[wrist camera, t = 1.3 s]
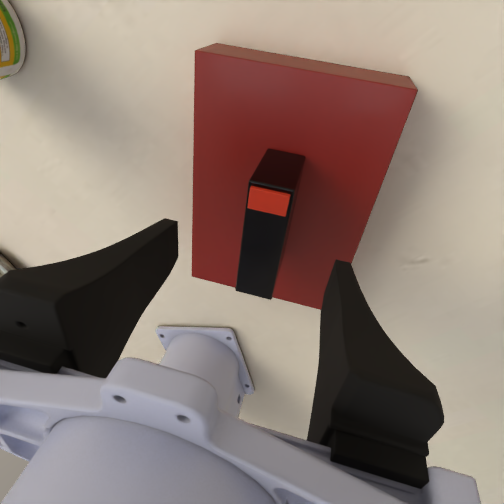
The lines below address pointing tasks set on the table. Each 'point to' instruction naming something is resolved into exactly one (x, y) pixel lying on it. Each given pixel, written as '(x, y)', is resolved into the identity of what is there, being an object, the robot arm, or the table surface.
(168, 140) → the table surface
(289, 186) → the block
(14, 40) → the supplement bottle
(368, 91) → the red rectangular block
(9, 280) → the robot arm
